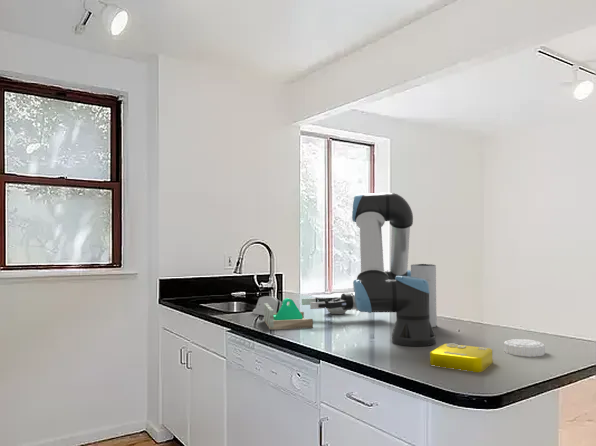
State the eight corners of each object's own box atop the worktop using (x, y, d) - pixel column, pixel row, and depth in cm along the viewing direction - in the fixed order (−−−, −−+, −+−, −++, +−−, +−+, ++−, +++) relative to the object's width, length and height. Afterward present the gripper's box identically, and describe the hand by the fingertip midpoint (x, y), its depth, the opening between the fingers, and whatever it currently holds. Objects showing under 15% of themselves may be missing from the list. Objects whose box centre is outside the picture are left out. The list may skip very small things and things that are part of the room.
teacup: (324, 315, 245) (324, 298, 246) (329, 311, 256) (329, 295, 256) (352, 315, 241) (352, 299, 242) (356, 312, 252) (356, 296, 252)
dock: (312, 327, 211) (312, 308, 212) (270, 329, 208) (269, 310, 209) (303, 319, 233) (302, 302, 233) (264, 321, 230) (264, 303, 230)
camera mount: (297, 319, 228) (297, 296, 228) (302, 321, 221) (302, 298, 221) (271, 320, 224) (271, 297, 225) (276, 323, 217) (275, 299, 217)
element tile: (427, 367, 147) (427, 350, 147) (444, 356, 160) (444, 341, 160) (480, 374, 139) (480, 357, 139) (494, 363, 151) (493, 346, 151)
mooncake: (514, 347, 171) (514, 336, 171) (551, 352, 162) (551, 341, 162) (497, 352, 163) (497, 341, 163) (534, 359, 154) (534, 347, 154)
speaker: (439, 324, 214) (437, 263, 215) (435, 328, 205) (433, 264, 205) (414, 323, 219) (412, 262, 219) (408, 327, 209) (407, 264, 210)
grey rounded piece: (251, 313, 255) (257, 293, 257) (259, 315, 258) (264, 296, 260) (271, 316, 242) (276, 296, 244) (278, 319, 245) (284, 299, 247)
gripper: (361, 313, 217) (314, 316, 211) (341, 306, 241) (298, 308, 235) (361, 296, 217) (314, 298, 211) (341, 290, 241) (298, 292, 235)
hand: (305, 303), depth 223 cm, fingers open, 13 cm apart
